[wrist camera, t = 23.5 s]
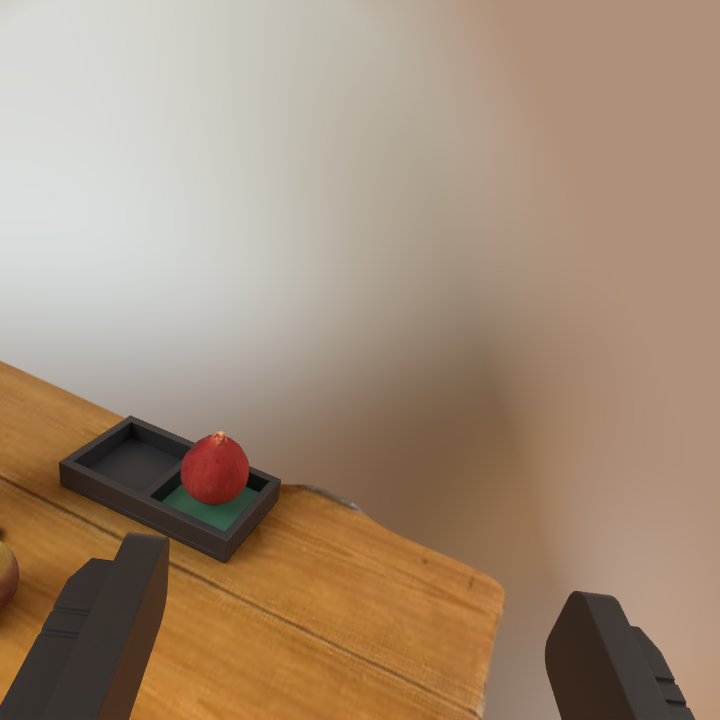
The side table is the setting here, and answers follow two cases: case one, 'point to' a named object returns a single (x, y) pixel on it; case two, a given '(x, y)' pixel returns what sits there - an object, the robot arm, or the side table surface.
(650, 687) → the robot arm
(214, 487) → the onion
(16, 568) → the fruit
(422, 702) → the side table surface
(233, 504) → the tray
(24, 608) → the side table surface
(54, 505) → the side table surface
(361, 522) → the side table surface
